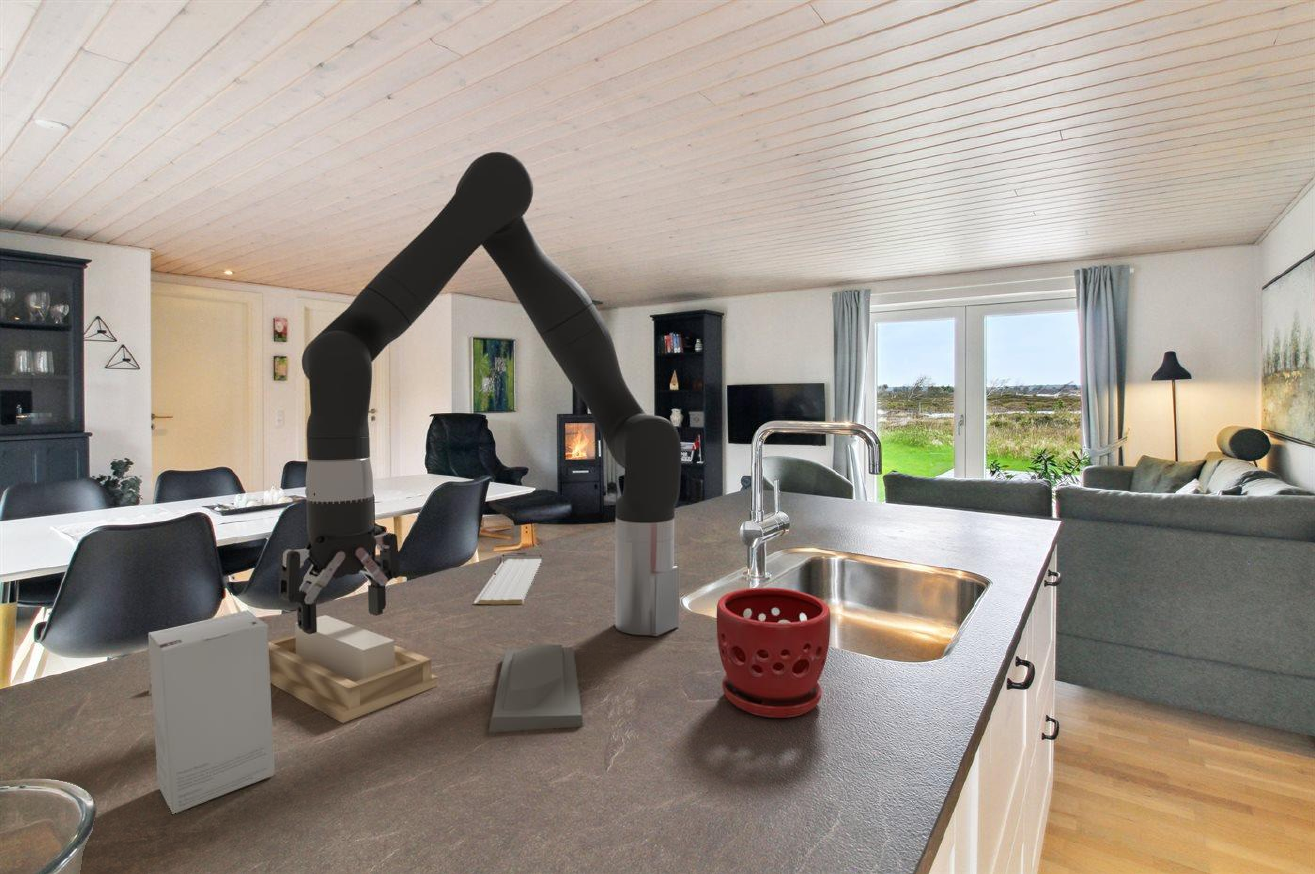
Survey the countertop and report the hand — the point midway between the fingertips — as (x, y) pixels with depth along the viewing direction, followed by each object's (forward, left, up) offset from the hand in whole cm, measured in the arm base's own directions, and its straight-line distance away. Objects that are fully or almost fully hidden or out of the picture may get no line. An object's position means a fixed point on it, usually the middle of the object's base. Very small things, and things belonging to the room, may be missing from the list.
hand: (344, 622), depth 83 cm
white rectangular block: (0, 0, -6) cm, 6 cm away
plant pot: (-46, -27, -8) cm, 54 cm away
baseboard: (+20, -44, -8) cm, 48 cm away
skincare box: (-13, +19, -8) cm, 24 cm away
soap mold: (-21, -13, -8) cm, 26 cm away
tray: (0, 0, -7) cm, 7 cm away
